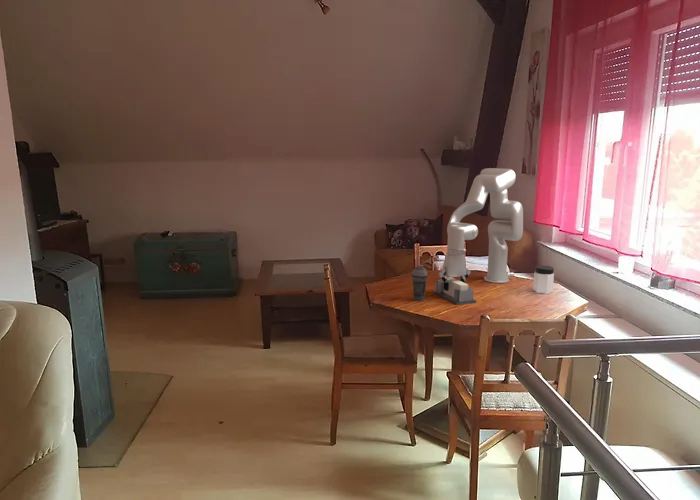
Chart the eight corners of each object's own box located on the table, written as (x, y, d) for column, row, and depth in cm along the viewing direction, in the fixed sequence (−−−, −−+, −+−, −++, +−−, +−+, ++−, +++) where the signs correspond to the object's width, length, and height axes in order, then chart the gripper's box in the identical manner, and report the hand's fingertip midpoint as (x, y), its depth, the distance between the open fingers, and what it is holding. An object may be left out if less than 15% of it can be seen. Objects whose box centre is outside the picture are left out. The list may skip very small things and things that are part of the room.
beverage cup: (417, 302, 236) (418, 259, 233) (407, 298, 243) (408, 256, 239) (430, 300, 240) (431, 257, 236) (421, 296, 246) (422, 254, 242)
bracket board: (450, 290, 257) (451, 278, 256) (476, 302, 237) (476, 289, 236) (432, 292, 254) (432, 280, 252) (457, 304, 233) (457, 291, 232)
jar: (555, 293, 251) (556, 269, 249) (538, 294, 251) (539, 269, 249) (547, 289, 260) (549, 265, 258) (531, 289, 260) (532, 265, 257)
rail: (448, 290, 254) (448, 276, 252) (467, 299, 238) (468, 284, 237) (440, 290, 252) (441, 276, 251) (460, 300, 237) (460, 285, 235)
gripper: (467, 249, 247) (465, 285, 251) (434, 251, 242) (433, 289, 245) (476, 252, 241) (474, 289, 244) (443, 255, 235) (441, 293, 238)
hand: (454, 289), depth 244 cm, fingers open, 7 cm apart
